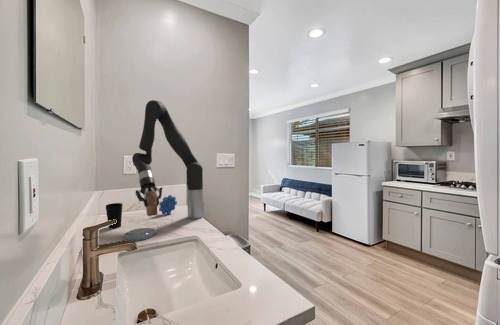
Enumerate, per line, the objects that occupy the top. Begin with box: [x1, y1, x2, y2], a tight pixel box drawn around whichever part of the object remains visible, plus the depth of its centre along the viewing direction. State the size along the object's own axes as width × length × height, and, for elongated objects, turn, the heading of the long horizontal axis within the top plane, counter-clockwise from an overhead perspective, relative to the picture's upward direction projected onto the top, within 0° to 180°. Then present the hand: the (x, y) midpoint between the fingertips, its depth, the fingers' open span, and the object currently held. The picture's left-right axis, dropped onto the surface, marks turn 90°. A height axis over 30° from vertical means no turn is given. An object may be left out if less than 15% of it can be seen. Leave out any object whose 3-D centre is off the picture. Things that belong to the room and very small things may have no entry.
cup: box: [105, 202, 123, 230], centre depth 119 cm, size 8×8×12 cm
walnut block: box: [145, 191, 158, 217], centre depth 119 cm, size 4×4×12 cm
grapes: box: [158, 194, 178, 215], centre depth 144 cm, size 12×7×12 cm, turn 131°
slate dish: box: [124, 227, 156, 242], centre depth 107 cm, size 13×13×2 cm
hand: (152, 205), depth 118 cm, fingers closed on walnut block, 4 cm apart
